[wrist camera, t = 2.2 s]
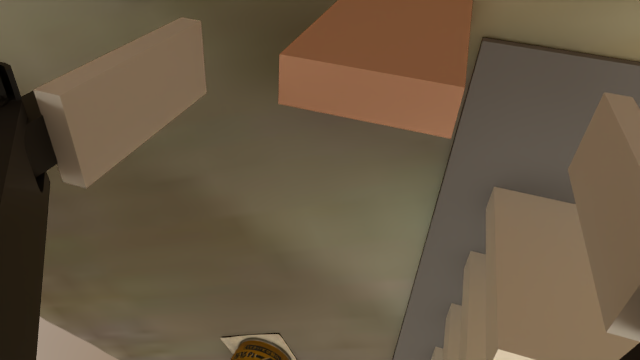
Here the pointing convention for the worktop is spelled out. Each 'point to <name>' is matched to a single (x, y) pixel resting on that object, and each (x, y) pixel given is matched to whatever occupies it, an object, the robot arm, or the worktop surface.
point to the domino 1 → (382, 63)
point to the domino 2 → (437, 354)
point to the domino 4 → (473, 309)
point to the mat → (504, 161)
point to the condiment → (258, 347)
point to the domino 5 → (541, 284)
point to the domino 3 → (452, 333)
